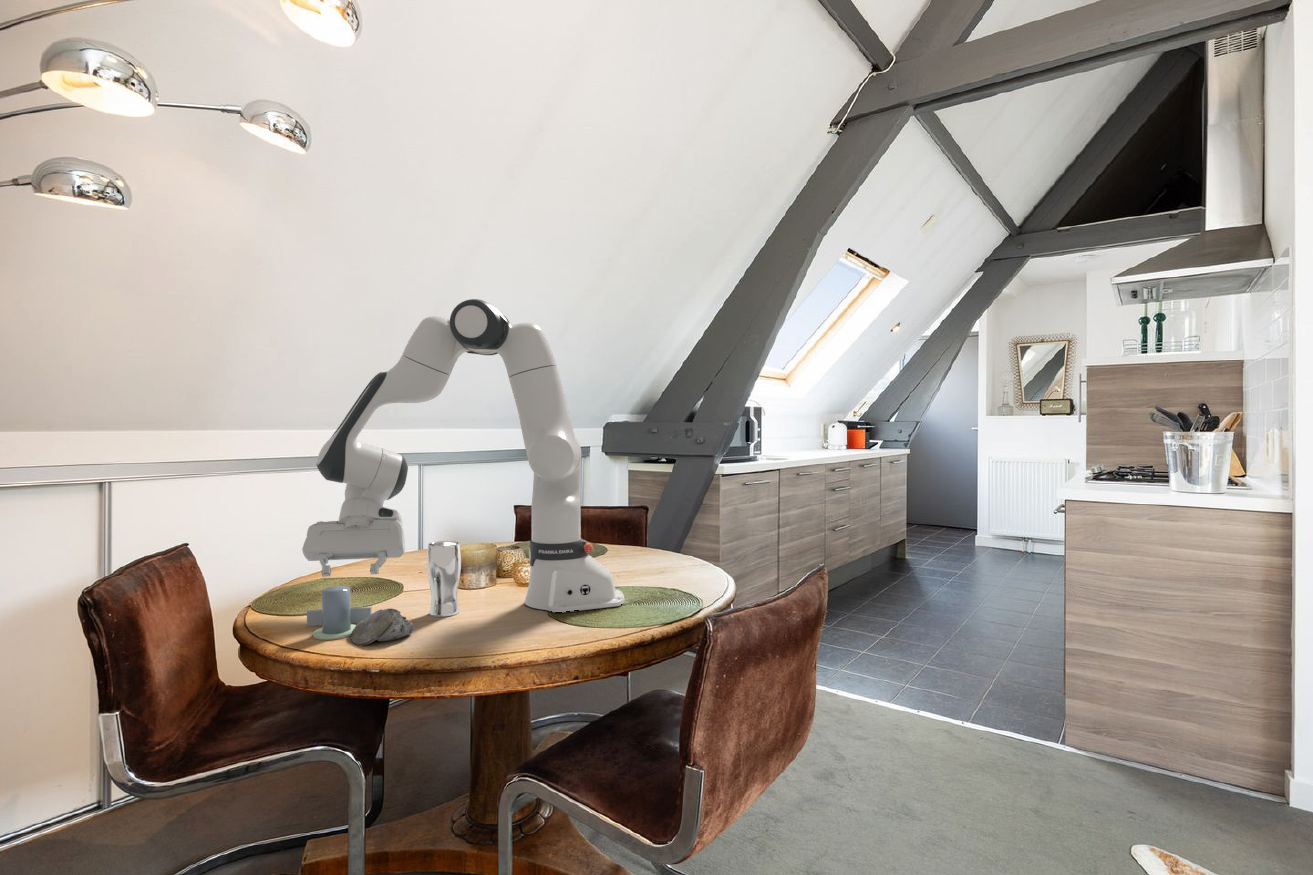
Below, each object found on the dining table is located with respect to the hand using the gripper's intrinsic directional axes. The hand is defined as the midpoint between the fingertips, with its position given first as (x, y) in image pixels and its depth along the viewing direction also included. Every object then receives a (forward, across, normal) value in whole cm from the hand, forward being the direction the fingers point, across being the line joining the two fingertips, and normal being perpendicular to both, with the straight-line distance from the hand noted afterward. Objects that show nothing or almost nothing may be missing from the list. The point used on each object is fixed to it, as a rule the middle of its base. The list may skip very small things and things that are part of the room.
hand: (349, 574), depth 138 cm
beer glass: (+7, +19, +6) cm, 21 cm away
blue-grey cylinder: (+14, 0, -2) cm, 14 cm away
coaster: (+14, 0, -1) cm, 14 cm away
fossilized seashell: (+17, +9, -4) cm, 20 cm away
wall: (+9, -1, +4) cm, 10 cm away
